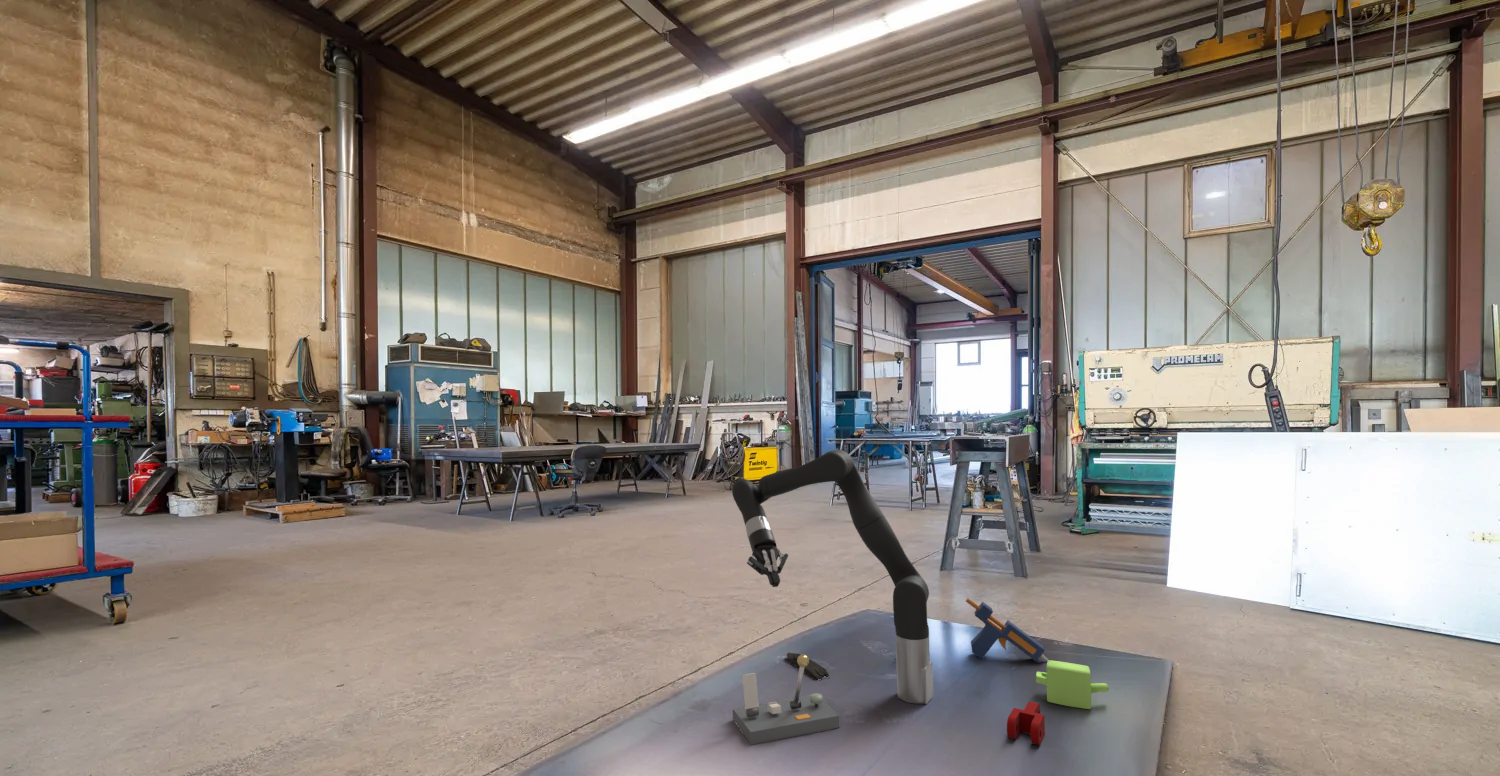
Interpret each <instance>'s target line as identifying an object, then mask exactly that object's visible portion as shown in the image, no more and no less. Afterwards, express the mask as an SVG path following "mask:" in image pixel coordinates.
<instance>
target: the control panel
mask: <svg viewBox="0 0 1500 776" xmlns="http://www.w3.org/2000/svg"><path fill="white" fill-rule="evenodd" d="M810 695H811V694H809V695H801V696H799V700H800V701H801V708H798V709H791V707H790V701H794V697H791V698H786V699H779V700H775V701H773V700H772V702H777V704H779V705H780V706H781V713H777V714H772V713H770V712H769V711H768V708H767V704H768V703H770V702H771V701H770V702H769V701H768V702H762V703H759V707H758V709H759V715H758V716H753V717H747V715H746V709H745V705H744V706H739V707H733V708H732V720H733V719H734V721H735V722H736V723H737V725H738V726H739V728H740V729H741V731H742V732H743V733H742V732H741V731H740V732H741V733H742V735H743V734H744V735H745V736H744V735H743V736H744V738H745V739H746V738H747V739H746V740H747V741H748V743H749V744H750V745H758V744H763V743H768V742H772V741H779V740H783V739H789V738H793V737H798V736H804V735H808V734H814V733H818V732H824V731H829V730H834V729H839V728H840V715H839V714H838V713H837V712H836V711H834V709H832V708H831V707H830V706H829V705H828V704H827V703H826V702H825V701H823V700H822V703H820V704H818V707H815V704H814V703H811V702H810ZM734 721H733V722H734ZM735 722H734V723H735ZM737 725H736V726H737ZM738 726H737V727H738ZM739 728H738V729H739ZM740 729H739V730H740Z"/></svg>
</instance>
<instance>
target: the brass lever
mask: <svg viewBox="0 0 1500 776" xmlns="http://www.w3.org/2000/svg"><path fill="white" fill-rule="evenodd" d="M809 659H810V658H809V657H808V655H806V654H803V653H802V654H800V656H799V657H798V659H797V662H798V664H799V666H800V668H798V675H797V682H796V685H795V692H794V697H793V698H794V701H790V707H791V709H798V708H801V701H800V700H799V697H801V696H800V695H801V689H802V684H803V677H804V673H805V672H804V667H806V666H807V665H808V664H809Z"/></svg>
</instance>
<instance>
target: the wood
mask: <svg viewBox="0 0 1500 776" xmlns="http://www.w3.org/2000/svg"><path fill="white" fill-rule="evenodd" d="M800 655H801V653H795V652H787V653H786V657H787V658H788V659H789V660H790V662H791V663H792V664H793V665H794V664H795V665H796V666H797V667H796V666H795V665H794V666H795V667H796V668H798V667H799V668H800V666H799V664H798V662H797V659H798V657H799V656H800ZM799 668H798V669H799ZM805 672H806V673H805ZM804 673H805V674H806V675H808V674H809V675H810V676H809V675H808V676H809V677H811V678H812V677H813V678H814V679H813V678H812V679H813V680H815V679H816V680H818V679H822V678H823V677H824V676H826V677H828V676H830V674H829V672H828V671H827V669H826V667H823V666H821V665H820V664H818V663H816V661H813V660H812V659H810V658H809V664H808V665H807V666H806V667H804ZM816 680H815V681H816Z"/></svg>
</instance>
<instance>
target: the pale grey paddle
mask: <svg viewBox="0 0 1500 776" xmlns="http://www.w3.org/2000/svg"><path fill="white" fill-rule="evenodd" d="M741 680H742V690H743V691H742V692H743V702H744V706H745V709H746V715H747V717H753V716H758V715H759V709H758V707H759V704H760V702H759V692H758V691H759V690H758V682H757V681H758V679H757V673H756V672H751V673H744V674H741Z"/></svg>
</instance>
